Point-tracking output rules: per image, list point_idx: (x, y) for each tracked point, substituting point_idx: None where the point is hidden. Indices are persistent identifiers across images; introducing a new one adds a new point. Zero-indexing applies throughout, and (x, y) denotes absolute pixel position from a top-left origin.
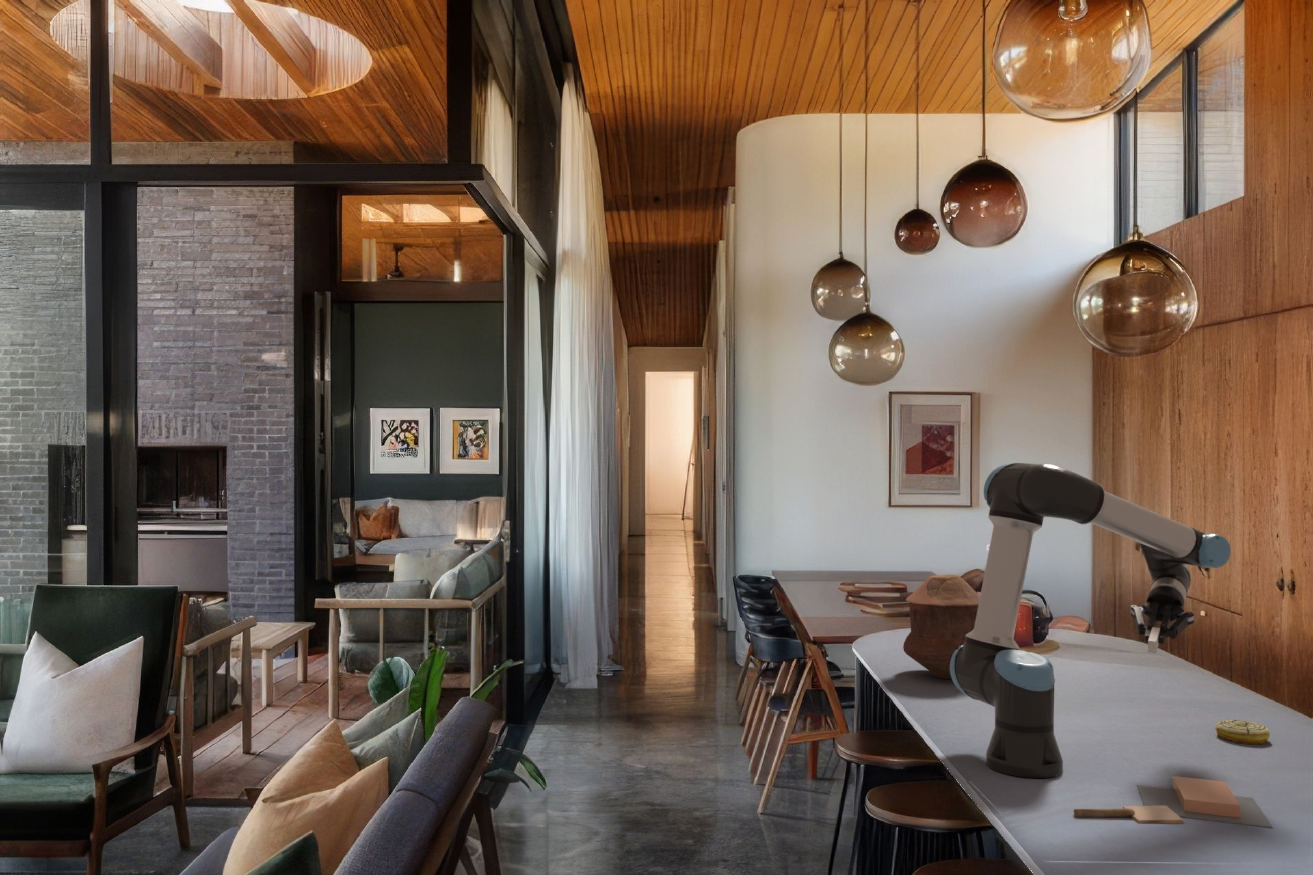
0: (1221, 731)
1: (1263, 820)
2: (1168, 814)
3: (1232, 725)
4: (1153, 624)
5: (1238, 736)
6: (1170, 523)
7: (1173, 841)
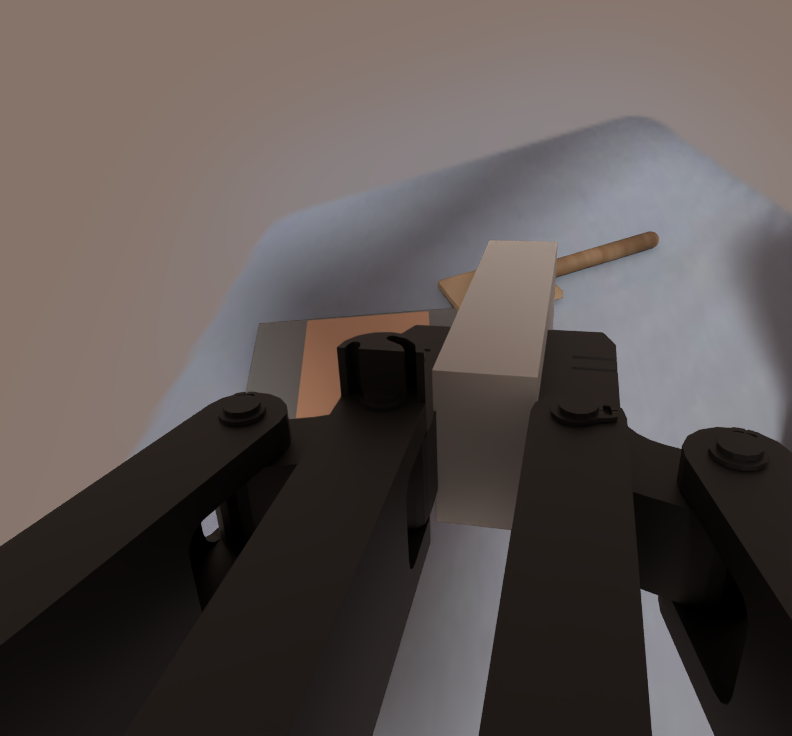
0: None
1: (265, 347)
2: (466, 290)
3: None
4: (526, 451)
5: None
6: None
7: (463, 222)
